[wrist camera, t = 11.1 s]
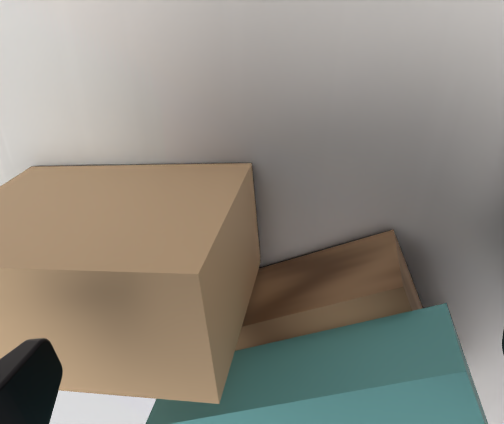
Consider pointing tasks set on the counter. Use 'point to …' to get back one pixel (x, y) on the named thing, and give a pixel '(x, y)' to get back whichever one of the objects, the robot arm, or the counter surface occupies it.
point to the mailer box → (130, 273)
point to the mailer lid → (346, 378)
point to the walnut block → (329, 291)
